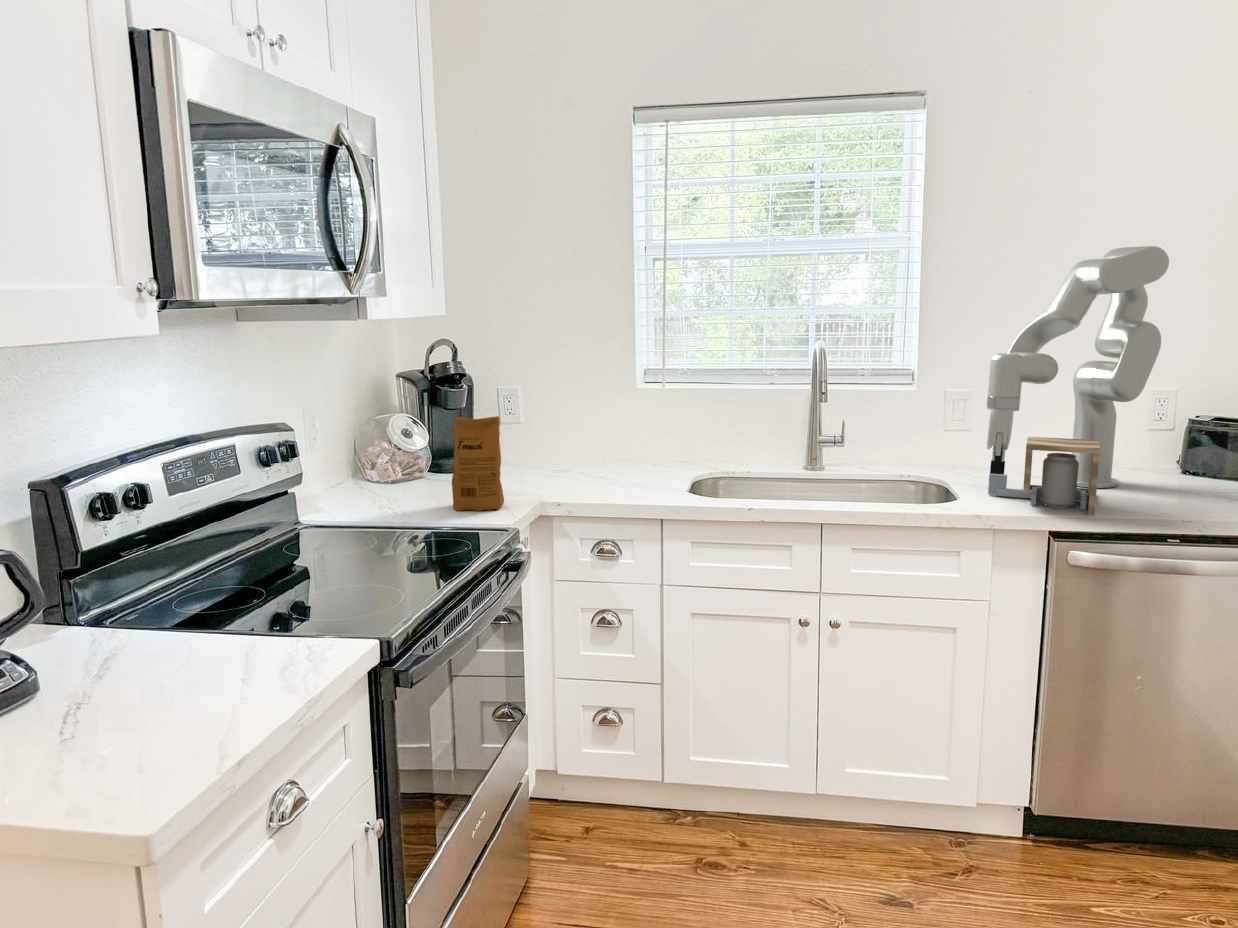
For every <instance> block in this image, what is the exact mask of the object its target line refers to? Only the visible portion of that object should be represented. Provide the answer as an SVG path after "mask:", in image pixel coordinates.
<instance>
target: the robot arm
mask: <svg viewBox="0 0 1238 928" xmlns="http://www.w3.org/2000/svg"><path fill="white" fill-rule="evenodd" d="M1169 265H1170V258H1169V255H1168V253H1167V252H1166V251H1165V249H1163V248H1161V247H1159V246H1155V245H1150V246H1149V245H1147V246H1145V245H1144V246H1129V247H1127V246H1125V247H1119V248H1115V249H1111V250H1109V251H1108V252H1107V253H1105V255H1104V256H1103V258H1095V259H1092V258H1091V259H1086V260H1085V259H1084V260H1081V261H1079V262H1077V263H1076V264H1074V266H1072V268H1071V270H1070V271H1069V273H1068V274H1067V276H1066V278H1065V279H1064V281H1062V284H1061V285H1060V288H1059V290H1058V291H1057V293H1056V294H1055V296H1054V297H1053V300H1052V301H1051V303H1050V305H1048V307H1047V309H1046V310H1045V311H1044V312H1043V313H1042V314H1041V315H1039V316H1038V317H1037V318H1036V319H1034V320H1033V321H1032V322H1030V324H1029V325H1027V326H1026V327H1025V328H1024V329H1022V331H1021V332H1020V333H1019V334H1018V335H1017V336H1016V337H1015V339H1014V341H1013V343H1012V344H1011V345H1010V347H1009V349H1008V351H1007V352H1004V353H1001V352H1000V353H998V352H997V353H995V354H993V355H992V356H991V359H990V363H989V364H990V366H989V376H988V377H989V378H988V387H987V388H988V389H987V397H986V399H987V400H986V409H987V410H988V411H989V410H990V414H989V419H988V421H989V422H988V431H987V439H986V449H987V450H990V449H992V455H991V456H992V457H991V460H990V471H989V474H1004V475H1005V465H1006V461H1005V457H1006V456H1005V455H1006V451H1007V450H1008V449H1009V446H1010V442H1011V436H1012V433H1013V432H1012V431H1013V423H1014V412H1018V411H1020V405H1021V394H1022V393H1021V392H1022V385H1023V383H1028V384H1033V385H1034V384H1035V385H1043V384H1048V383H1050V382H1052V381H1053V380H1054V379H1055V378H1056V377H1057V375H1058V373H1059V365H1058V362H1057V360H1056V359H1055V358H1054V357H1053V356H1051V355H1050V354H1046V353H1041V352H1040V350H1041V349H1043V347H1044V346H1045V345H1047V344H1049V342H1050V341H1052V340H1054V339H1056V338H1058V337H1060V336H1063V335H1065V334H1068V333H1069V332H1072V331H1074V330H1075V329H1077V328H1078V327H1079V326H1081V324H1082V322H1083V320H1084V319H1085V317H1086V316H1087V314H1088V313H1089V311H1090V309H1091V307H1092V305H1093V304H1094V302H1095V301H1096V299H1097V298H1098V296H1099V295H1110V299H1109V303H1108V307H1107V310H1106V312H1105V314H1104V316H1103V320H1102V321H1101V324H1100V325H1099V328H1098V331H1097V335H1096V336H1095V340H1094V348H1095V349H1094V350H1095V351H1096V352H1097V353H1098V354H1099V355H1100V356H1103V357H1106V358H1112V359H1117V362H1116V361H1109V360H1108V361H1107V360H1106V361H1105V360H1090V361H1086V362H1084V363H1082V364H1081V365H1079V366H1078V367H1077V369H1076V370H1075V372H1074V374H1073V379H1072V385H1073V386H1072V387H1073V394H1074V395H1073V396H1074V404H1075V405H1074V421H1073V435H1072V439H1085V440H1098V442H1099V446H1100V454H1099V466H1098V479H1097V489H1107V488H1115V487H1117V486H1118V484H1119V483H1118V482H1119V481H1118V479H1116V478H1112V475H1113V462H1114V451H1115V450H1114V449H1115V439H1116V438H1115V437H1116V425H1117V410H1116V406H1115V403H1114V402H1116V403H1117V402H1118V403H1128V402H1132V401H1134V400H1136V399H1137V398H1138V397H1139V396H1140V395H1141V393H1143V391H1144V389H1145V387H1146V384H1147V382H1148V380H1149V377H1150V375H1151V373H1152V370H1153V368H1154V365H1155V363H1156V361H1157V358H1158V356H1159V353H1160V350H1161V347H1162V335H1161V331H1160V330H1159V328H1158V327H1157V326H1156V325H1155V324H1154V323H1152V322H1149V321H1146V320H1144V318H1145V315H1146V312H1147V309H1148V305H1149V298H1148V293H1147V290H1146V288H1145V286H1146V285H1149V284H1151V283H1154V282H1156V281H1158V280H1159V279H1161V278H1162V277H1163V276H1164V275H1165V274H1166V273H1167V271H1168V269H1169ZM1039 352H1040V353H1039ZM1071 454H1073V455H1076V458H1075V459H1076V460H1077V461H1078V462H1079V468H1078V481H1077V487H1079V488H1080V487H1081V488H1088V486H1089V474H1090V461H1091V453H1079V452H1071Z"/></svg>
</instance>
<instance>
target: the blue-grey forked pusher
mask: <svg viewBox="0 0 1238 928" xmlns="http://www.w3.org/2000/svg"><path fill="white" fill-rule="evenodd" d="M988 476H989V477H988V491H987V492H988V493H987V495H991V496H997V497H1010V498H1023V499H1030V506H1036V505H1037V504H1036V501H1037V499H1041V488H1042V487H1032V490H1029V496H1026V495H1023V488H1022V489H1019V488H1007V486H1008V485H1007V483H1008V474H1005V473H1004V474H990V473H989V475H988ZM1076 502H1079V503H1080V504H1079V505H1080V509H1081V510H1086V509H1087V501H1086V490H1077V493H1076Z"/></svg>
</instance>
